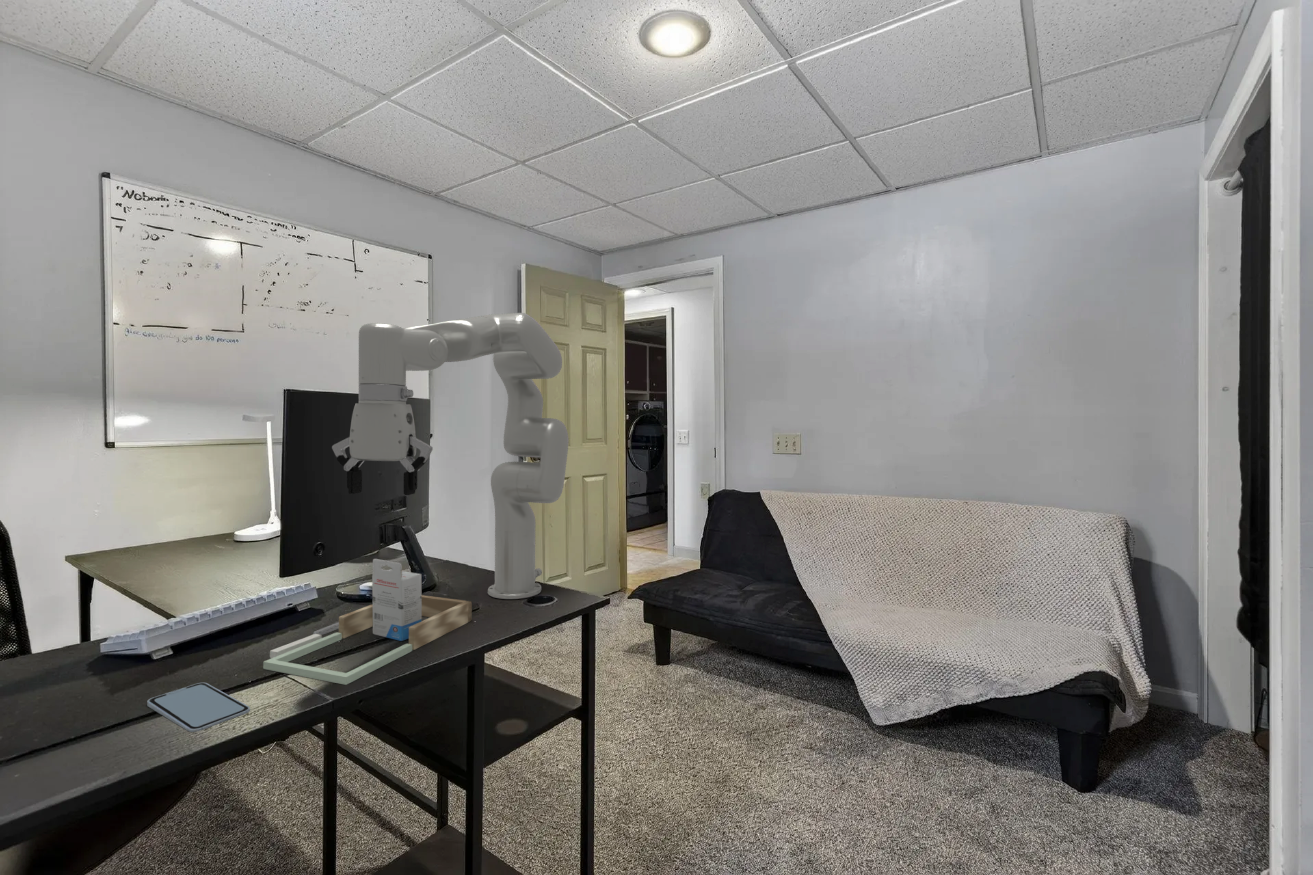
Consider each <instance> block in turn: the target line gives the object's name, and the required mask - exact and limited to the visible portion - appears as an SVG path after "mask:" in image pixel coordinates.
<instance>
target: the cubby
mask: <svg viewBox="0 0 1313 875" xmlns="http://www.w3.org/2000/svg"><path fill="white" fill-rule="evenodd" d="M421 597H422V617H427V618H426V619H424V620H422V621H421V622H419V623H417V624H415V625H413V626H410V627H409V639H408V644H412V651H415V650H417V649H419V648H421V647H423V646H424V645H427V644H429V643H430V642H432V641H435V640H437V639H439V638H441V637H442V636H445V635H447V634H448V633H450V632H452V631H454V630H457V629H458V628H460V627H462V626H464V625H466V624H468V623H470V622H472V620H473V619H472V618H473V616H472V615H473V613H472V612H473V610H472V606H473V604H472V602H473V601H470V600H463V599H456V598H447V597H439V596H432V595H431V596H430V595H423V594H421ZM338 622H339V629H338V633H342V639H346V638H349V637H351V636H353V635H355V634H357V633H358V634H359V633H360V632H363V631H365V630H368V629H370V628H373V603H372V604H369V605H367V606H364V607H361V608H359V609H356V610H353V611H350V612H348V613H345V614H343V615H340V616H338Z"/></svg>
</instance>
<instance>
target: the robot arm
mask: <svg viewBox="0 0 1313 875" xmlns="http://www.w3.org/2000/svg"><path fill="white" fill-rule="evenodd" d="M490 355H493V356H492V357H493V359H492V360H493V367H494V369H495V371H496V373H497V375H498V377H500V379H501V381H502V383H503V385H504V387H505V390H506V394H507V400H508V401H507V410H506V417H505V423H504V424H505V425H504V431H503V432H504V433H503V448H504V450H505V452H506V453H507V454H508V455H511V456H514V457H515V456H516V457H523V458H524V457H525V458H540V462H531V461H505V462H502V463H500V464H498V465H497V466H496V467H495V468H494V469H493V471H492V473H491V476H490V486H491V493H492V498H493V503H494V505H493V506H494V584H491V585H490V586H488V589H487V594H488V596H490V597H492V598H496V599H500V600H501V599H502V600H518V599H526V598H531V597H534V596H537V595H538V594H540V593H541V592H542V585H541V584H540V583H538V582H536V578H538V577H540V576H541V575H542V574H543V571H542V569H541V568H539V567H537V568H536V525H537V524H536V516H535V513H534V510H533V509H532V507H531V505H530V503H533V504H534V503H535V504H552V503H555V502H557V501H558V500H559V499H560V497H561V496H562V493H563V490H564V486H565V479H566V470H567V469H566V468H567V461H568V454H569V441H570V440H569V439H570V438H569V433H568V429H567V426H566V425H565V424H564V423H563V422H562V421H561V420H560V419H557V418H551V417H550V418H547V417H543V411H544V410H543V409H544V397H543V395H542V393H541V391H540V388H538V385H536V383H535V382H534V380H546V379H547V380H548V379H552V378H555V377H556V376H558V375H559V374H560V372H561V370H562V367H563V358H562V354H561V351H560V349H559V347H558V346H557V344H556V343H555V342H554V340H553V339H552V338H551V337H550V335H549V334H548V333H547V331H546V330H545V329H544V328H543V326H542V325H541V324H540V323H539V322H538V321H537V320H536V319H535V318H533V317H532V316H530V315H529V314H528V313H525V312H512V313H511V312H510V313H509V312H508V313H494V314H493V313H492V314H484V315H480V316H473V317H465V318H459V319H454V320H447V321H440V322H435V323H432V324H431V323H430V324H425V325H417V326H409V327H402V326H398V325H397V324H389V323H380V322H379V323H378V322H377V323H376V322H375V323H373V322H372V323H371V322H370V323H366V324H363V325H361V327H360V328H359V331H358V403H357V402H356V403H355V405H354V407H353V411H352V414H351V420H350V421H351V422H350V430H349V436H348V437H346V438H345V439H343V440H340V441H338V442H337V443H334V444H333V445H332V446H331V449H332V451H333V454H334V455H335V457H336V461H338V464H340V465H341V466H342V467H343V470H344V471H346V488H347V489H348V494H349V495H354V494H360V493H361V492H363V485H362V484H363V483H362V482H363V481H362V480H363V471H362V469H360V467H361V466H362V464H364V462H367V461H369V462H370V461H372V462H377V461H378V462H380V461H381V462H398V461H399V462H400V464H401V465H402V466H403V468H405V472H403V495H404V496H410V495H414V494H415V493H416V491H417V490H418V472H419V471H420V470H421V468H422V467H423V466H424V465H425V464H427V462H428V459H429V457H430V455H431V454H432V451H433V450H434V449H433V446H432V445H429V444H428V443H426V442H424V441H422V440H421V439H419V438H417V436H416V425H415V420H414V418H415V417H414V413H413V409H412V404H409V403H408V404H407V402H408V399H409V398H413V397H414V390H413V389H408V387H407V372H409V371H412V372H420V371H421V372H424V371H432V370H435V369H439V368H440V367H441V366H443V365H444V363H455V362H456V363H458V362H464V361H471V360H474V359H478V358H480V357H485V356H490ZM348 447H349V454H350V456H349V455H348V454H346V449H347V448H348ZM417 449H418V450H419V451H420V453H419V456H418V457H417V458H416V459H415V457H416V454H417ZM535 582H536V583H535Z"/></svg>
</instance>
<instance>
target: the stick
mask: <svg viewBox="0 0 1313 875" xmlns="http://www.w3.org/2000/svg"><path fill="white" fill-rule="evenodd" d="M321 638H323V635H319V634H314V633H313V634H311V635H307V636H306V637H303V638H300V639H297V640H295V641H292V642H290V643H288V644H284V645H281V646H279V647H276V648H273V649H271V650H269V659H271V658H274V657H276V656H279V655H281V654H284V653H286V652H289V651H291V650H294V649H296V648H299V647H301V646H304V645H306V644H309V643H311V642H314V641H316V640H319V639H321Z"/></svg>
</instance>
